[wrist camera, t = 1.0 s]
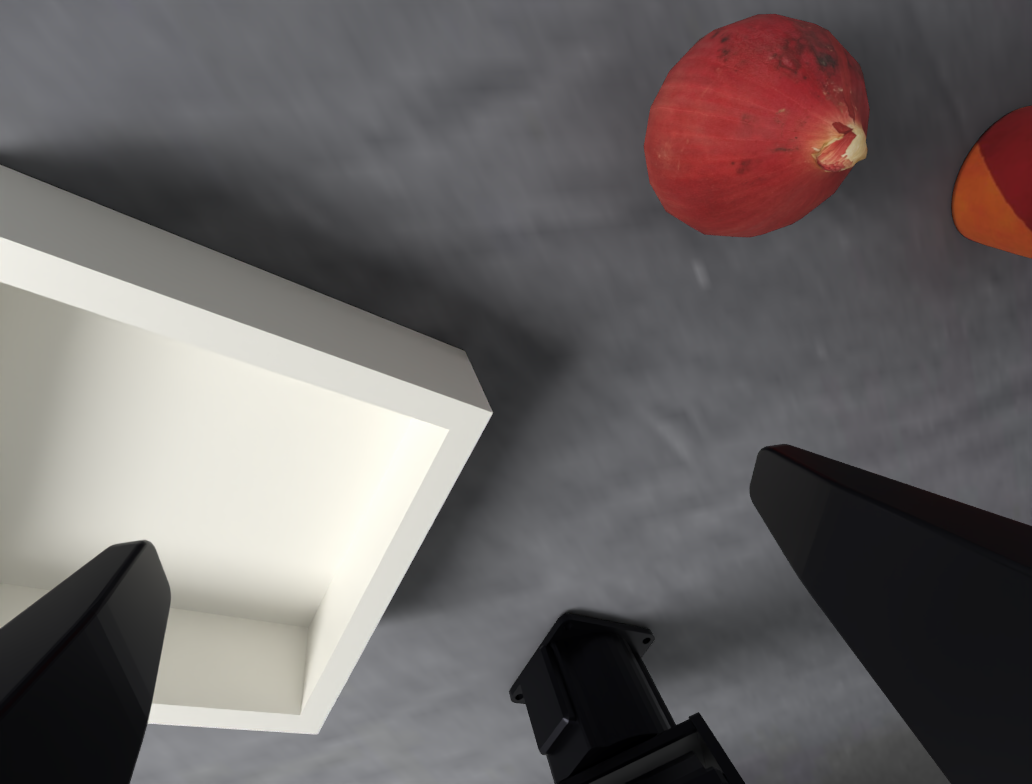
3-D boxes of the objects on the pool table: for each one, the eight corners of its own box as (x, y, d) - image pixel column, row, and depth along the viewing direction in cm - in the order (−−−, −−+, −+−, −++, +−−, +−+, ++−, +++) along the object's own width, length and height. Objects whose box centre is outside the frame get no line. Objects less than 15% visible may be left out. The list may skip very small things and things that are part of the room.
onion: (624, 19, 17) (801, -44, 10) (775, 48, 19) (1016, 11, 12) (592, 210, 20) (719, 262, 13) (728, 222, 21) (906, 274, 14)
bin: (464, 351, 21) (493, 412, 17) (324, 628, 25) (317, 734, 21) (-30, 152, 15) (-191, 168, 10) (-103, 566, 19) (-237, 698, 15)
